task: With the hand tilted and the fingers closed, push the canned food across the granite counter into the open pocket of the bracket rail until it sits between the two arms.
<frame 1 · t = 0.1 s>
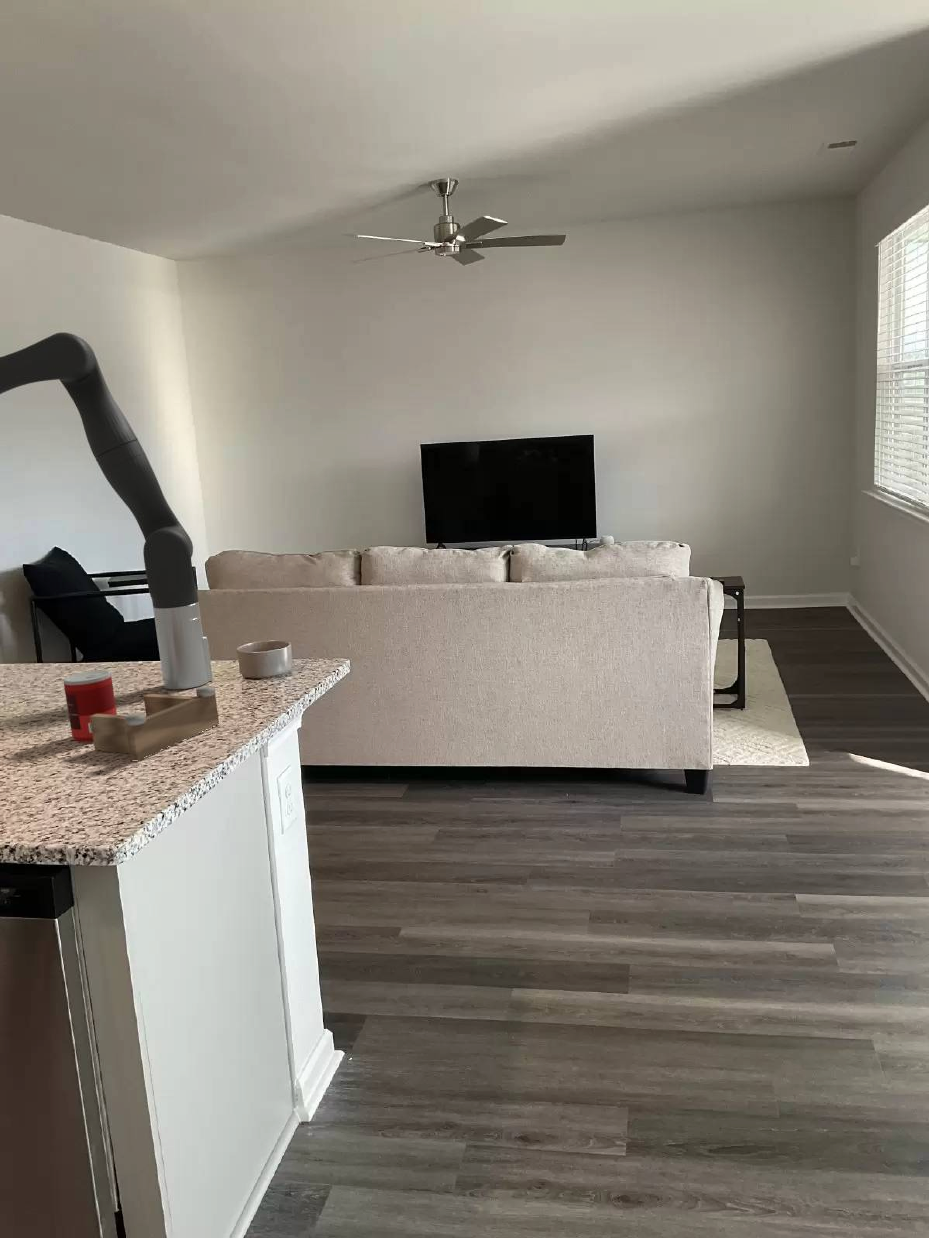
canned food: (96, 736, 176), on the countertop
bracket: (151, 739, 171), on the countertop
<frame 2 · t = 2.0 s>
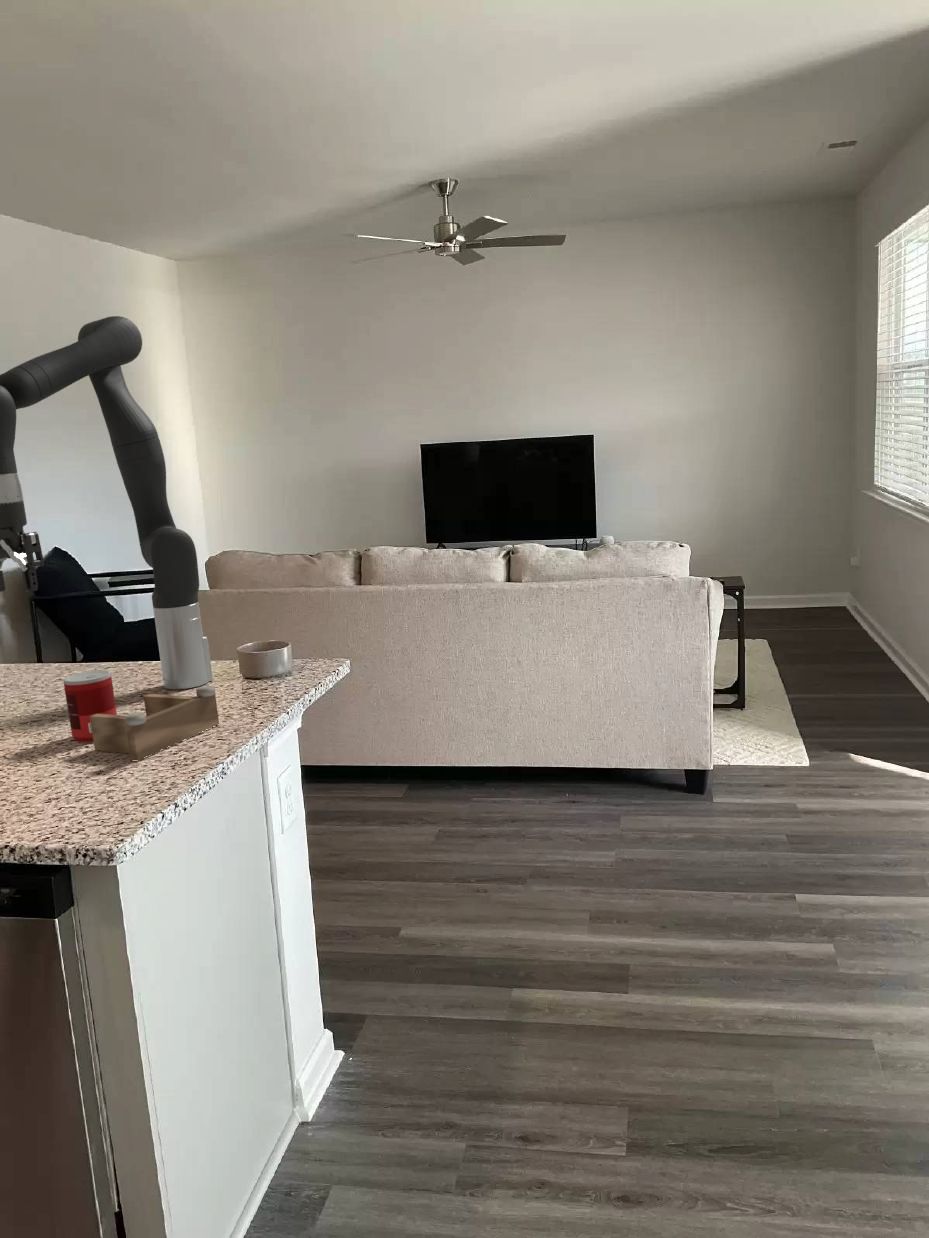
hand: (15, 591, 178), 26 cm above the countertop, tool pointing down, fingers open, 8 cm apart
nothing on the countertop moved.
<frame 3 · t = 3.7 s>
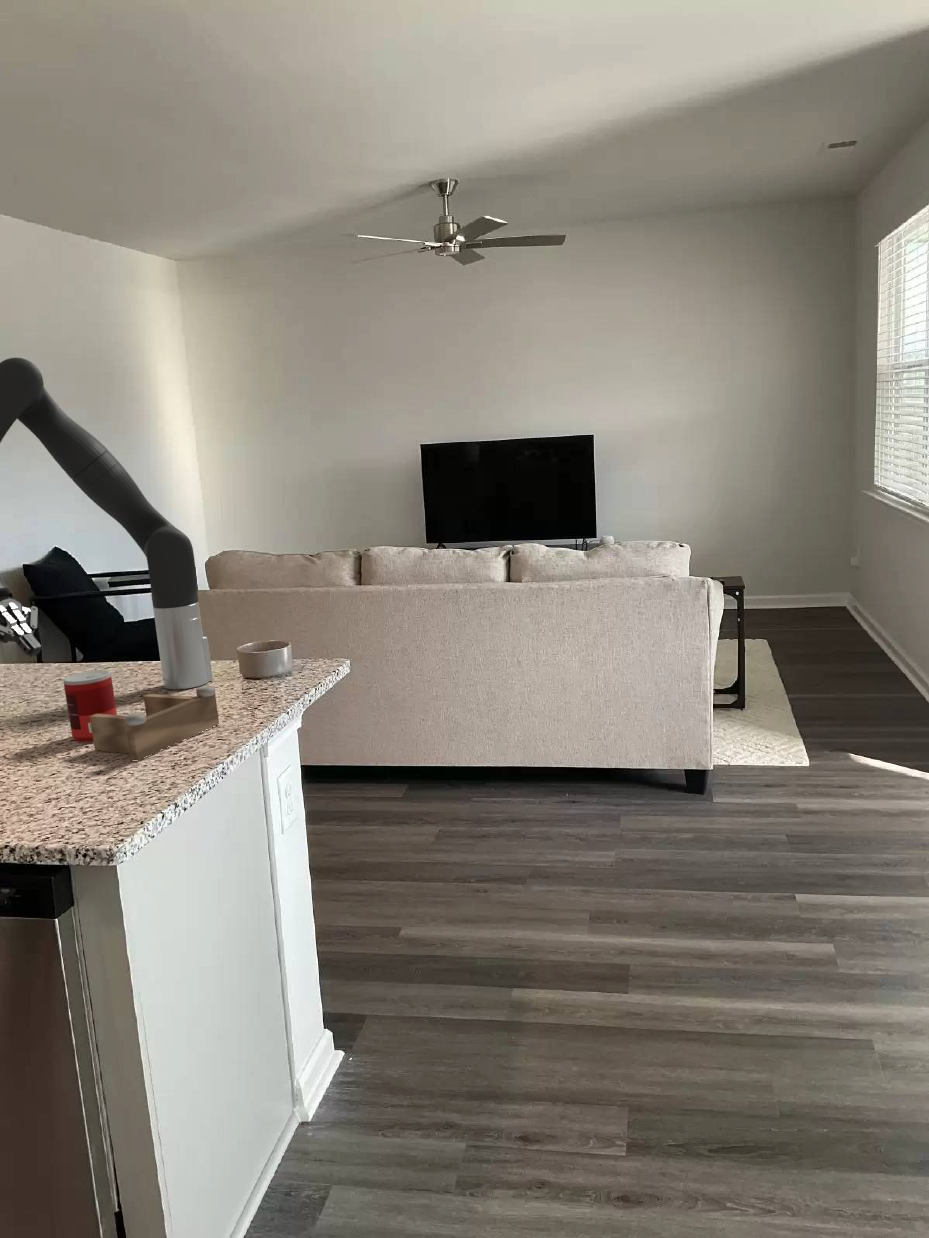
hand: (36, 652, 179), 15 cm above the countertop, tool tilted 45°, fingers closed
nothing on the countertop moved.
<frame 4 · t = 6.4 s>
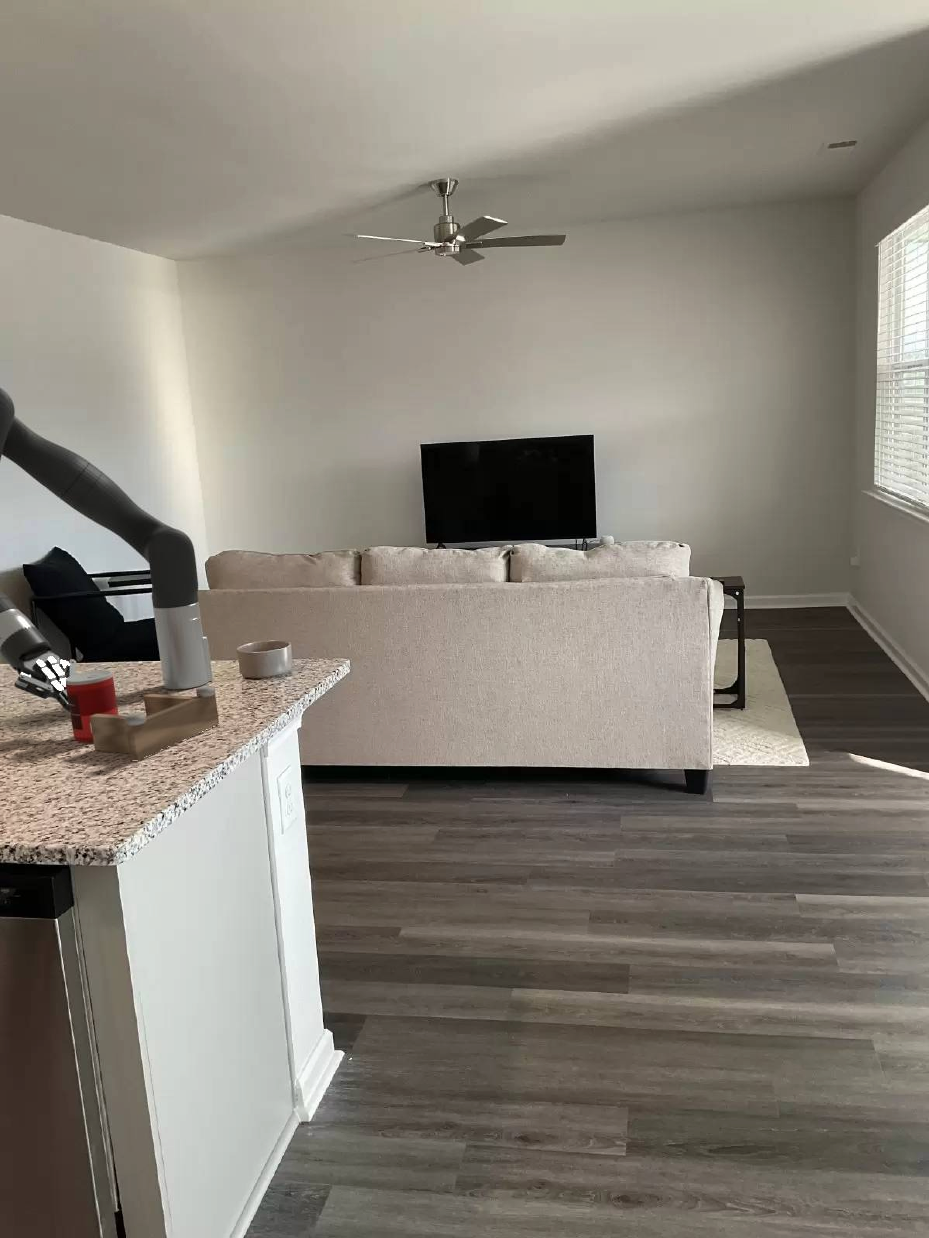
hand: (75, 708, 177), 5 cm above the countertop, tool tilted 45°, fingers closed
canned food: (98, 736, 176), on the countertop, touching gripper
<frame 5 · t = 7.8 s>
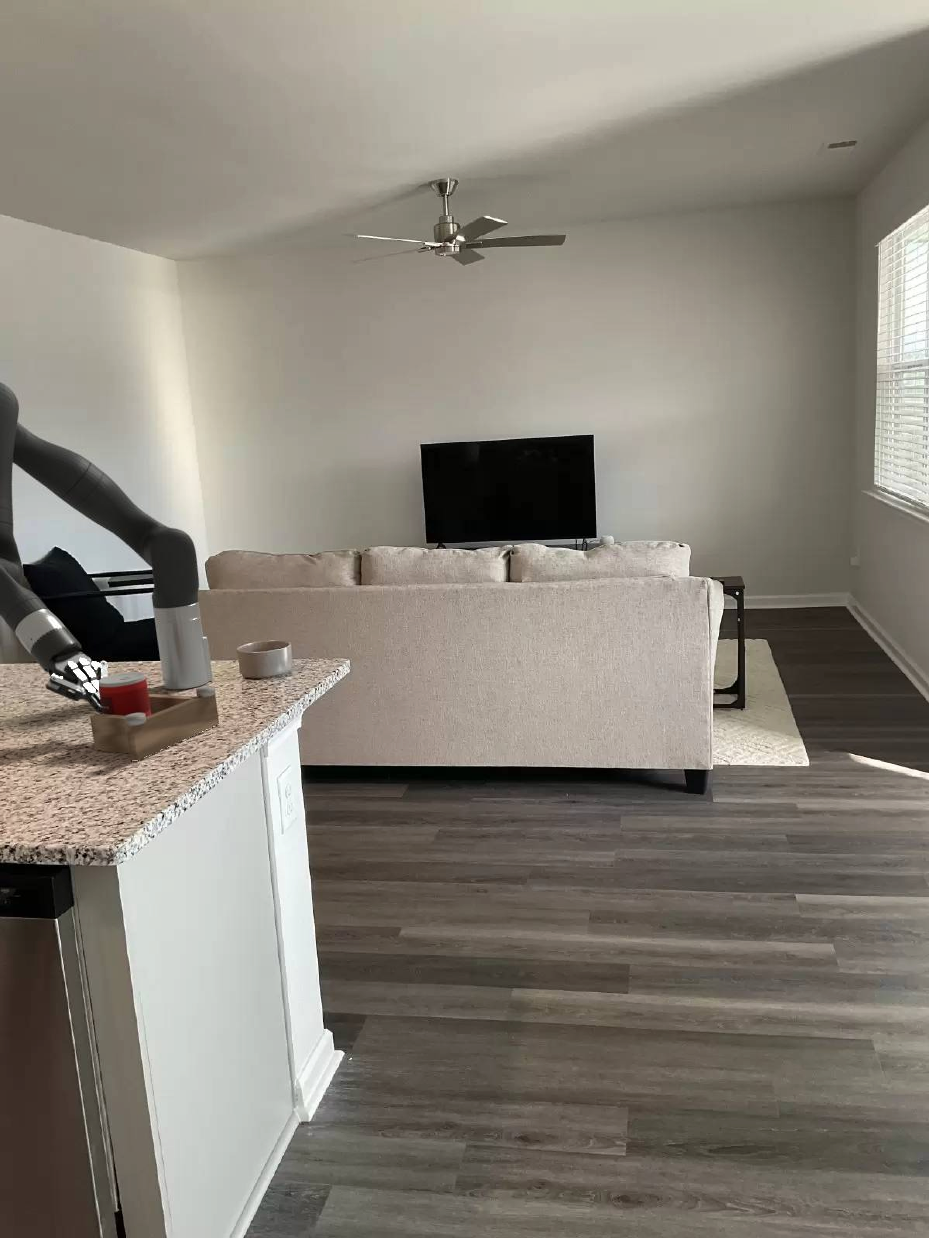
hand: (107, 710, 173), 5 cm above the countertop, tool tilted 45°, fingers closed
canned food: (130, 739, 172), on the countertop, touching gripper
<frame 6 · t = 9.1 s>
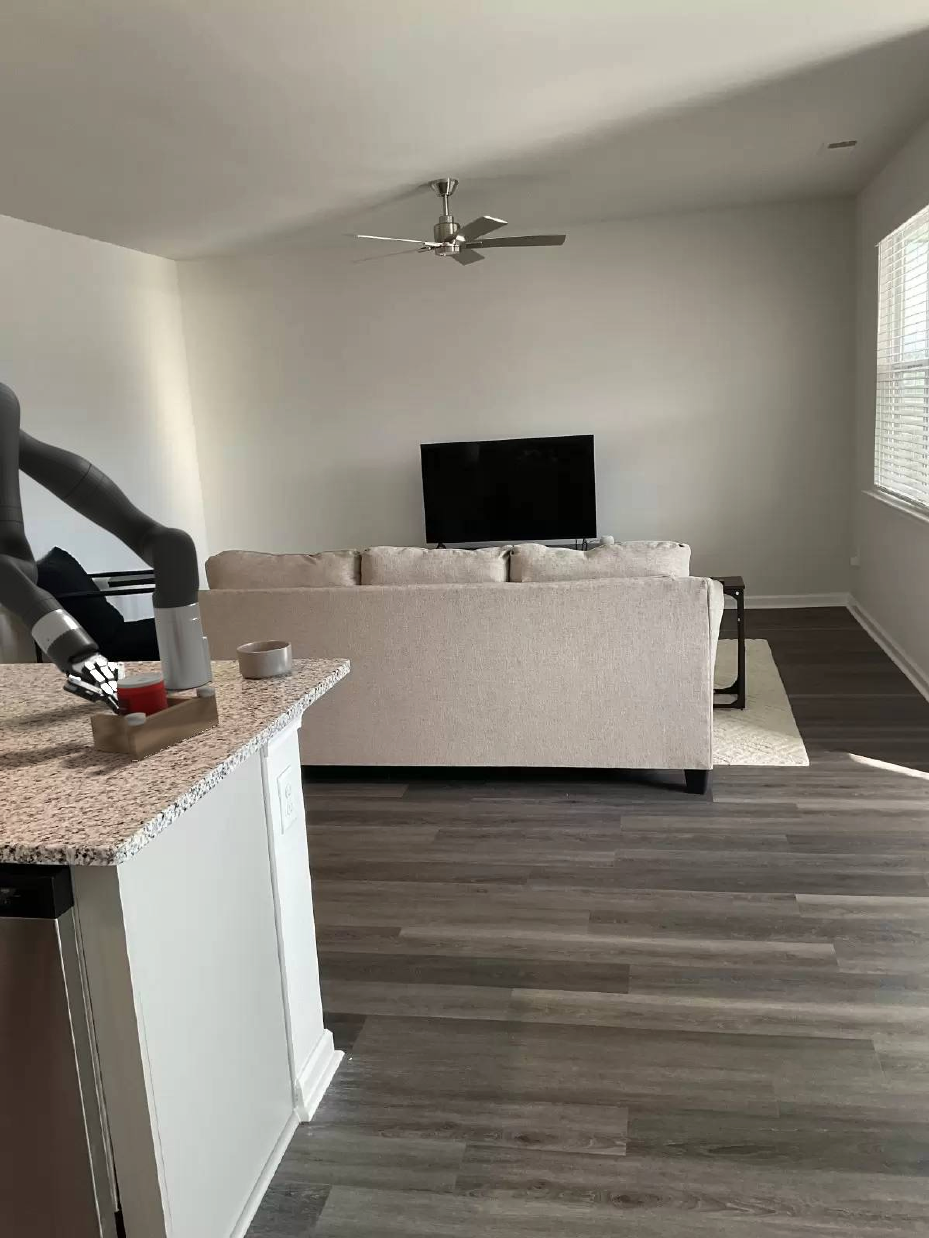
hand: (125, 712, 172), 5 cm above the countertop, tool tilted 45°, fingers closed
canned food: (148, 741, 170), on the countertop, touching gripper
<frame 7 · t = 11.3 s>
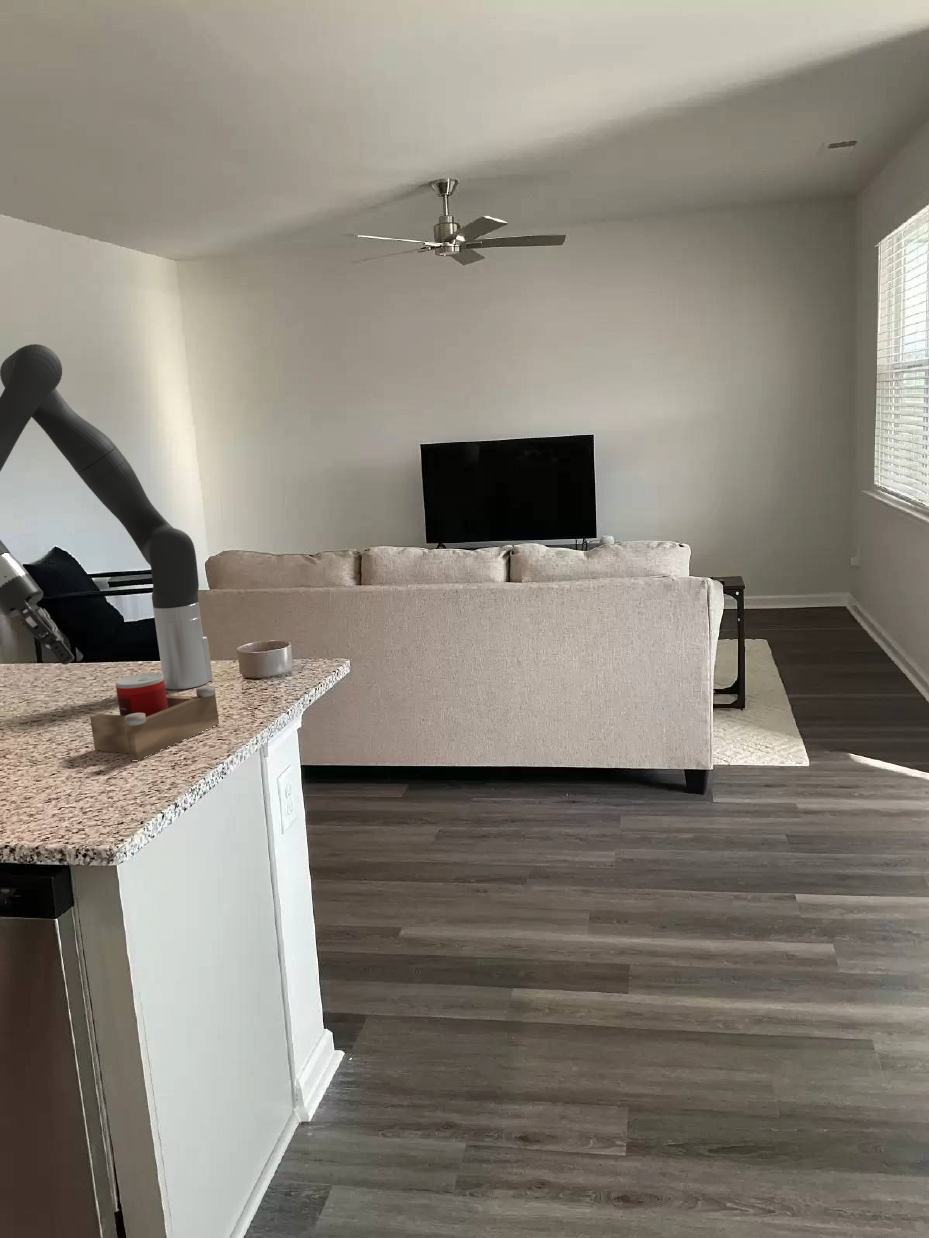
hand: (69, 661, 177), 13 cm above the countertop, tool tilted 35°, fingers closed
canned food: (148, 741, 170), on the countertop
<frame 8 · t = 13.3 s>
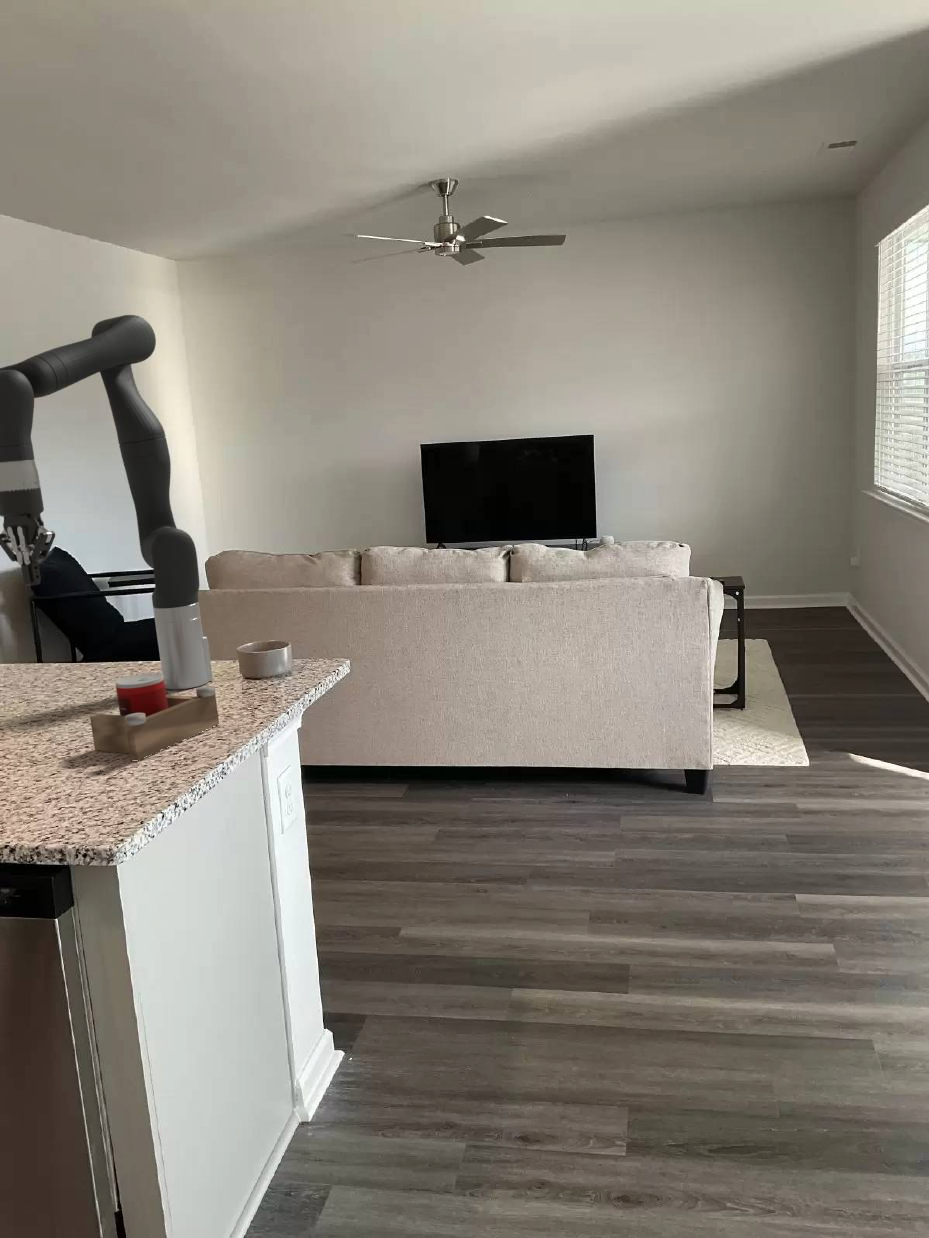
hand: (32, 584, 178), 27 cm above the countertop, tool pointing down, fingers closed
nothing on the countertop moved.
at the end: canned food 0.5 cm from the bracket (horizontally); canned food tilted 0°; the gripper is holding nothing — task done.
